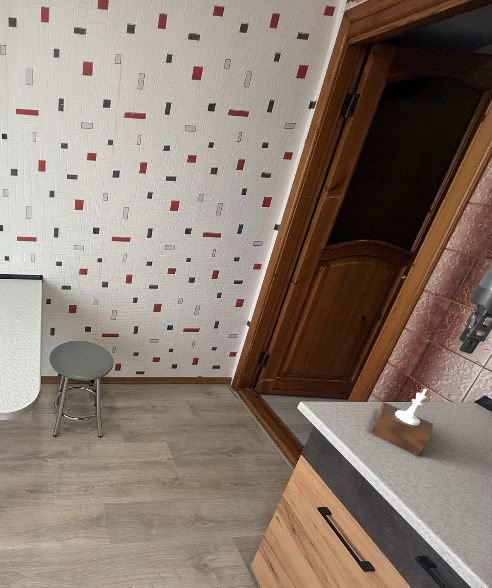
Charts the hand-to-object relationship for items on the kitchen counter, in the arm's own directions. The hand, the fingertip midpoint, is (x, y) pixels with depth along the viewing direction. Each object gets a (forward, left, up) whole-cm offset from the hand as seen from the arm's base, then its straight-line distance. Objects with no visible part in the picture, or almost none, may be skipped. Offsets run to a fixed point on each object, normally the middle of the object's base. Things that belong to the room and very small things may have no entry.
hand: (464, 346), depth 84 cm
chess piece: (+3, +9, -21) cm, 23 cm away
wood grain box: (+3, +6, -28) cm, 29 cm away
